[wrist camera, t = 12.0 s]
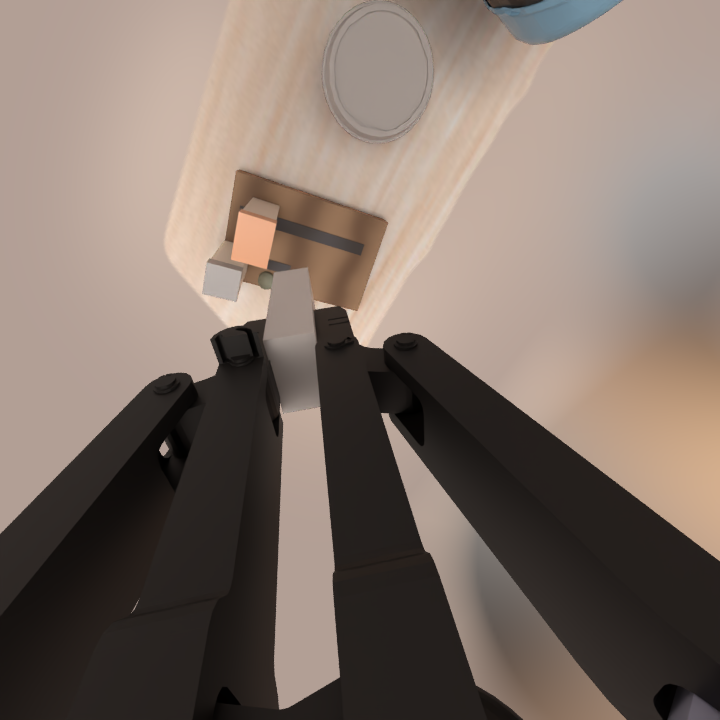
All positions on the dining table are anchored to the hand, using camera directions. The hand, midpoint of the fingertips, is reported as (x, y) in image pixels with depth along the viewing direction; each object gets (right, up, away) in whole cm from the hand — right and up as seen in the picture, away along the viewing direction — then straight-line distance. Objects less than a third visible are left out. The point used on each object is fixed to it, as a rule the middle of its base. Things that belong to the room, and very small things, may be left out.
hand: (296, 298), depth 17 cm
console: (-4, +12, +30) cm, 33 cm away
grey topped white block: (-12, +10, +27) cm, 31 cm away
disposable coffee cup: (+3, +26, +23) cm, 35 cm away
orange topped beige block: (-8, +14, +26) cm, 30 cm away
